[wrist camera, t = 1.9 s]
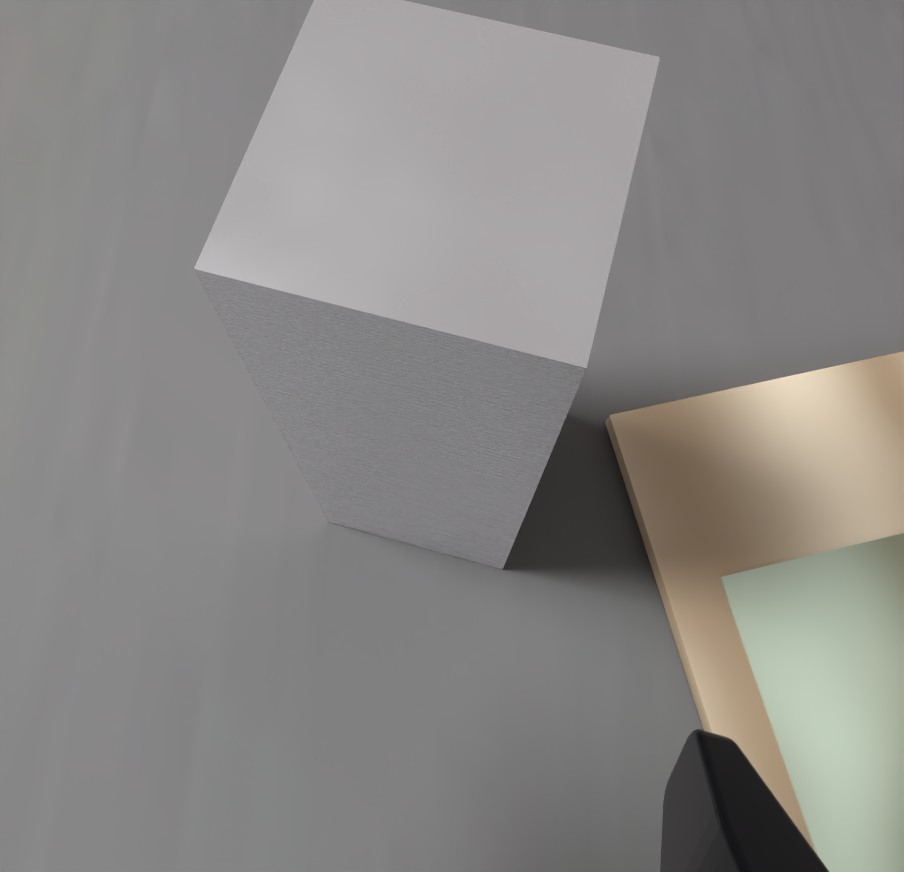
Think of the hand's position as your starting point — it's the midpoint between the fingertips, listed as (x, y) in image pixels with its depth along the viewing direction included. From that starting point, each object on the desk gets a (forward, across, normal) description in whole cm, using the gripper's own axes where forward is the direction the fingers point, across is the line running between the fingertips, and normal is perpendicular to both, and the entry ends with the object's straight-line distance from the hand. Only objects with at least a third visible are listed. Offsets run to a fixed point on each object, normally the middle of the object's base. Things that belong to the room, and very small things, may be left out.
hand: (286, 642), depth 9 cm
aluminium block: (+13, 0, +4) cm, 14 cm away
